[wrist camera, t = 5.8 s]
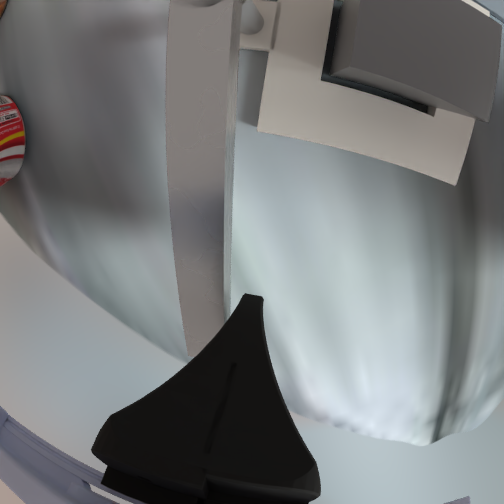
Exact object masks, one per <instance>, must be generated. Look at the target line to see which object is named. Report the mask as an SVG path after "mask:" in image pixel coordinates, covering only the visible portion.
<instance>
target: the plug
mask: <svg viewBox="0 0 504 504" xmlns="http://www.w3.org/2000/svg"><path fill="white" fill-rule="evenodd" d="M501 31H502V25H500V24H499V23H497V22H496V21H494V20H493V19H491V18H490V17H488V16H487V15H485V14H484V13H482V12H480V11H479V10H477V9H476V8H474V7H472V6H471V5H469V4H467V3H465V2H464V1H462V0H344V2H343V4H342V6H341V8H340V13H339V20H338V26H337V32H336V39H335V45H334V51H333V57H332V62H331V68H330V74H329V76H334V77H338V78H342V79H346V80H349V81H353V82H357V83H360V84H364V85H367V86H370V87H374V88H377V89H380V90H383V91H386V92H389V93H392V94H395V95H398V96H401V97H403V98H406V99H409V100H411V101H414V102H417V103H419V104H423V105H427V106H431V107H435V108H439V109H443V110H447V111H450V112H454V113H458V114H461V115H464V116H468V117H471V118H474V119H477V120H480V121H483V122H486V123H489V118H490V114H491V109H492V104H493V99H494V94H495V88H496V82H497V75H498V67H499V58H500V47H501Z"/></svg>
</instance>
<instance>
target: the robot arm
mask: <svg viewBox="0 0 504 504" xmlns="http://www.w3.org/2000/svg"><path fill="white" fill-rule="evenodd" d="M263 301H264V299H263V298H262V296H257V295H251V294H246V293H245V294H244V295H243V296H242V298H241V300H240V302H239V304H238V305H237V307H236V309H235V310H234V312H233V313H232V314H231V316H230V317H229V319H228V320H227V321H226V323H225V324H224V325H223V326H222V328H221V329H220V330H219V332H218V333H217V334H216V335H215V336H214V337H213V339H212V340H211V341H210V342H209V343H208V344H207V345H206V346H205V347H204V348H203V350H202V351H201V352H200V353H199V354H198V355H197V356H196V357H194V358H193V359H192V360H191V361H190V362H189V363H188V364H187V365H186V366H185V367H184V368H182V369H181V370H180V371H179V372H178V373H176V374H175V375H174V376H173V377H172V378H170V379H169V380H168V381H166V382H165V383H164V384H162V385H161V386H160V387H158V388H156V389H155V390H153V391H152V392H150V393H149V394H147V395H146V396H144V397H143V398H141V399H140V400H138V401H136V402H134V403H133V404H131V405H129V406H127V407H125V408H123V409H122V410H120V411H118V412H116V413H114V414H112V415H111V416H110V417H109V418H108V419H107V421H106V422H105V424H104V425H103V427H102V428H101V429H100V431H99V433H98V435H97V437H96V440H95V442H94V444H93V446H92V449H91V451H92V453H93V454H94V455H95V456H96V457H97V458H98V459H99V460H101V461H102V462H103V463H105V464H106V465H107V469H106V471H105V473H102V472H100V471H98V470H95V469H94V468H92V467H90V466H88V465H86V464H84V463H82V462H80V461H78V460H76V459H75V458H73V457H71V456H69V455H68V454H66V453H64V452H62V451H61V450H59V449H57V448H56V447H54V446H52V445H51V444H49V443H48V442H46V441H45V440H43V439H42V438H40V437H39V436H37V435H36V434H34V433H33V432H31V431H30V430H28V429H27V428H26V427H24V426H23V425H21V424H20V423H19V422H17V421H16V420H15V419H14V418H12V417H11V416H10V415H8V413H7V412H6V411H5V410H4V409H3V408H2V407H1V406H0V479H1V480H2V481H3V482H4V483H5V484H6V485H7V486H8V487H9V488H10V489H11V490H12V491H13V492H14V493H15V494H16V495H17V496H18V497H19V498H20V499H21V500H23V501H24V502H25V503H26V504H119V503H117V502H115V501H113V500H110V499H108V498H106V497H104V496H102V495H99V494H97V493H95V492H93V491H92V490H91V488H90V485H89V483H90V484H92V485H94V486H96V487H98V488H100V489H102V490H104V491H106V492H108V493H111V494H112V495H115V496H117V497H120V498H122V499H124V500H127V501H129V502H132V503H134V504H308V503H309V502H310V501H312V500H315V499H316V498H318V497H319V496H320V493H321V484H320V477H319V472H318V467H317V464H316V461H315V459H314V458H313V456H312V455H311V453H310V451H309V450H308V448H307V446H306V445H305V443H304V441H303V439H302V437H301V436H300V434H299V432H298V430H297V428H296V426H295V424H294V422H293V420H292V418H291V415H290V413H289V411H288V409H287V406H286V404H285V402H284V399H283V397H282V394H281V391H280V389H279V386H278V383H277V380H276V377H275V374H274V370H273V367H272V363H271V359H270V355H269V351H268V347H267V341H266V336H265V330H264V321H263ZM87 482H88V483H87ZM444 504H470V497H469V496H467V497H464V498H461V499H458V500H454V501H451V502H448V503H444Z"/></svg>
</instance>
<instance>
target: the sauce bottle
mask: <svg viewBox="0 0 504 504" xmlns="http://www.w3.org/2000/svg"><path fill="white" fill-rule="evenodd" d="M6 3H7V0H0V18H1V16H2V14H3V12H4V10H5V8H6Z"/></svg>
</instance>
